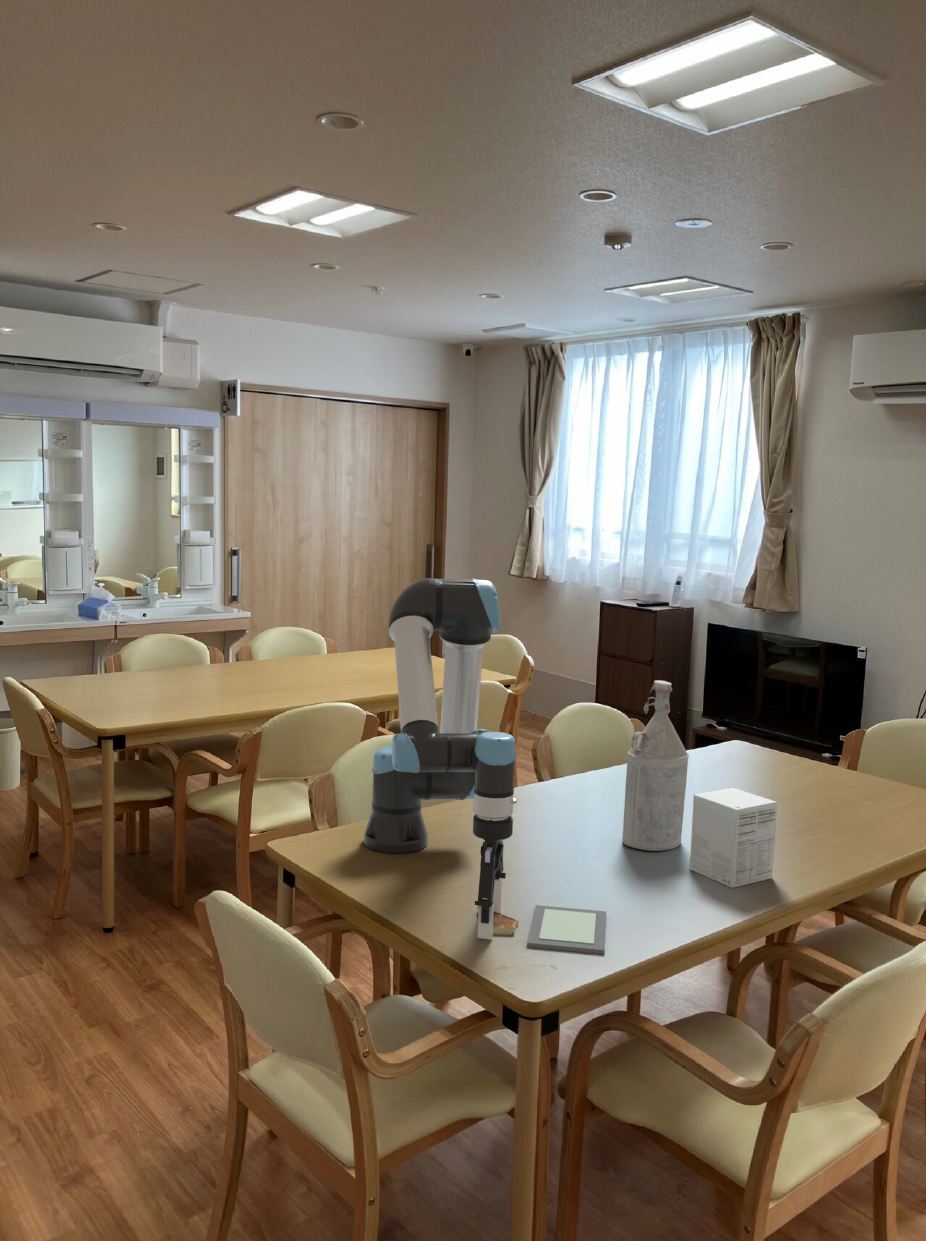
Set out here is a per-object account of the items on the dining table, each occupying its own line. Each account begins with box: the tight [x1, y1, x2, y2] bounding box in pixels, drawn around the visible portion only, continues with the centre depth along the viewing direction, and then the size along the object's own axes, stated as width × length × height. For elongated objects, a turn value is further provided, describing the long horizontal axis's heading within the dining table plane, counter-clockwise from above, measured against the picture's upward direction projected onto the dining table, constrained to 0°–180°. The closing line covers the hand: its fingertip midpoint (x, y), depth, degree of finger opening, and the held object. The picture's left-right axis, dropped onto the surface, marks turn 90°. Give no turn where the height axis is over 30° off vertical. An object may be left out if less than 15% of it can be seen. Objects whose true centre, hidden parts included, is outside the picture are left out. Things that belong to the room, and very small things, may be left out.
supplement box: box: [689, 787, 778, 889], centre depth 224 cm, size 13×13×18 cm
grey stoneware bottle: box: [621, 679, 690, 852], centre depth 242 cm, size 13×17×40 cm
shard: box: [477, 905, 520, 935], centre depth 195 cm, size 11×8×2 cm
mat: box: [526, 904, 607, 955], centre depth 192 cm, size 14×18×1 cm
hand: (489, 924), depth 193 cm, fingers open, 12 cm apart
